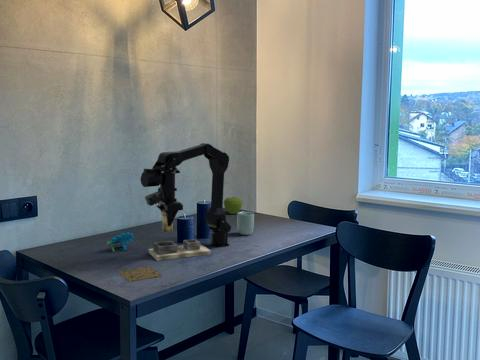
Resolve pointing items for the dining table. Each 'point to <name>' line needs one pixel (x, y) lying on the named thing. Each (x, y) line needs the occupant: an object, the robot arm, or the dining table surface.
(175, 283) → the dining table surface
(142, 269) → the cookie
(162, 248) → the board
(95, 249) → the dining table surface
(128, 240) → the blue green toy animal
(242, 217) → the cup
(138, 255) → the dining table surface
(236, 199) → the apple
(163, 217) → the cylinder
